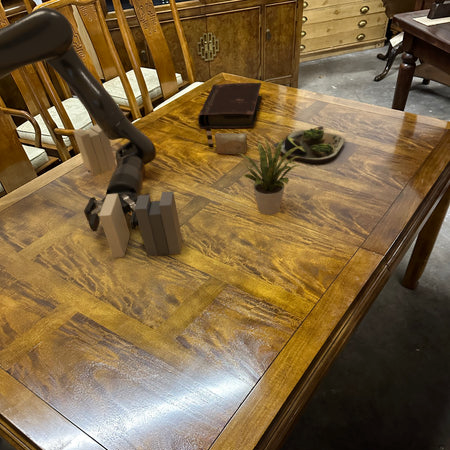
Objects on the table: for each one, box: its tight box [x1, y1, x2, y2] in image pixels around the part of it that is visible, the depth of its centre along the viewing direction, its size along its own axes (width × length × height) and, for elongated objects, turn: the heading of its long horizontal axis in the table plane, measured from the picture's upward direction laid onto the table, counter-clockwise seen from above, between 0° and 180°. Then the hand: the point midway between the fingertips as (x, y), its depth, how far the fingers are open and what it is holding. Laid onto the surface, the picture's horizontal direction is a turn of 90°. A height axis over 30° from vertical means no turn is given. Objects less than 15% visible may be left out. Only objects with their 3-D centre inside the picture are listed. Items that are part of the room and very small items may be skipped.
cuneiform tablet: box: [204, 126, 248, 155], centre depth 119 cm, size 7×4×12 cm
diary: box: [197, 82, 262, 129], centre depth 139 cm, size 19×25×5 cm
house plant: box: [237, 137, 303, 216], centre depth 94 cm, size 14×14×16 cm
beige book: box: [98, 194, 131, 259], centre depth 90 cm, size 8×2×11 cm, turn 0°
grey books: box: [135, 190, 183, 257], centre depth 88 cm, size 5×7×12 cm
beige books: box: [72, 124, 117, 177], centre depth 116 cm, size 5×7×12 cm
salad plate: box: [272, 125, 345, 165], centre depth 118 cm, size 19×18×5 cm
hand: (112, 227), depth 89 cm, fingers open, 8 cm apart
